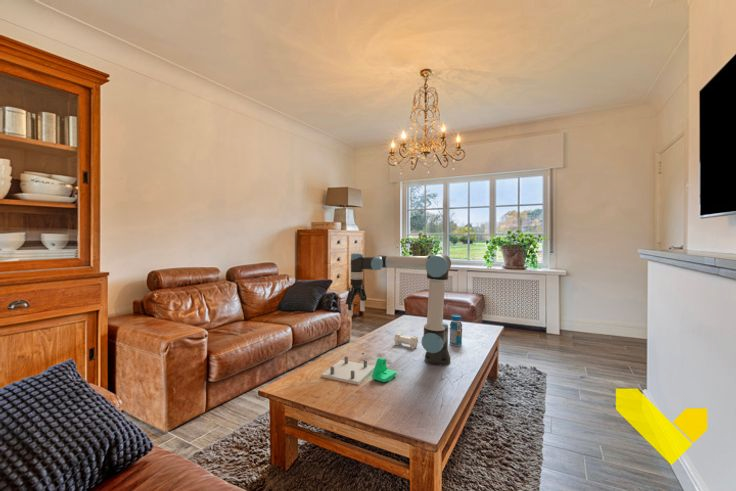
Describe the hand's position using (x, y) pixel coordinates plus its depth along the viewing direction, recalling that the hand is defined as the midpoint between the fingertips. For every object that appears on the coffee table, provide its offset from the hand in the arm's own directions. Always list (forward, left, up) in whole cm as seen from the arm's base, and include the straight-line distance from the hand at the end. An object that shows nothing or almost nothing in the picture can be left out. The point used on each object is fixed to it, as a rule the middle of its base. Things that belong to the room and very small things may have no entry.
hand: (356, 313), depth 207 cm
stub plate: (-7, +23, -27) cm, 36 cm away
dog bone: (-22, -32, -27) cm, 47 cm away
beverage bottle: (-52, -50, -27) cm, 77 cm away
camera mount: (-27, +21, -27) cm, 44 cm away
